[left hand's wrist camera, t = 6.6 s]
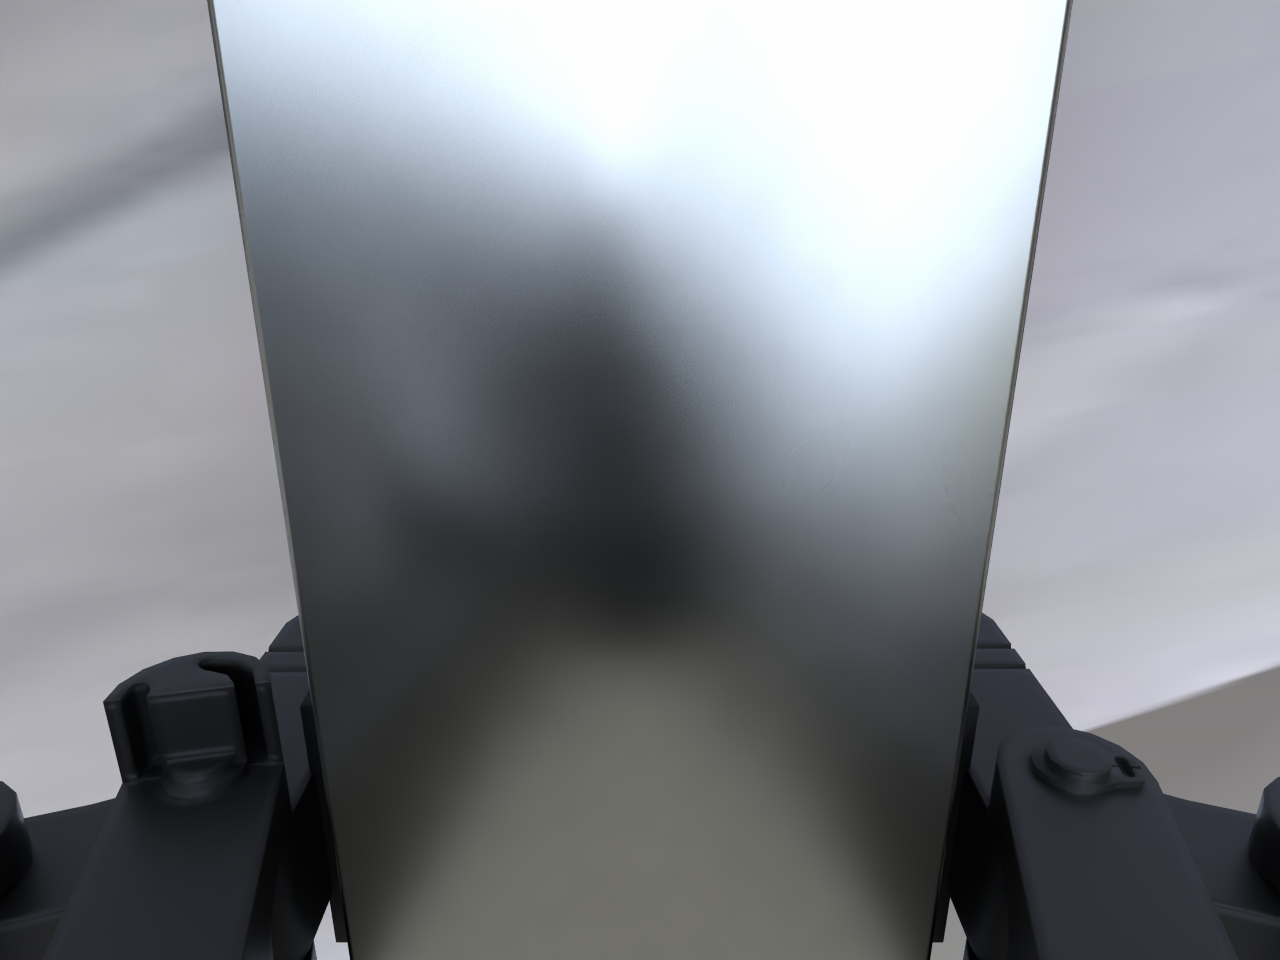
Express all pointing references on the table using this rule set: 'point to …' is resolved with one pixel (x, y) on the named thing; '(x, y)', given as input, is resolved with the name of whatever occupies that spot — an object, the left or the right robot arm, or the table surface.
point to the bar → (640, 448)
